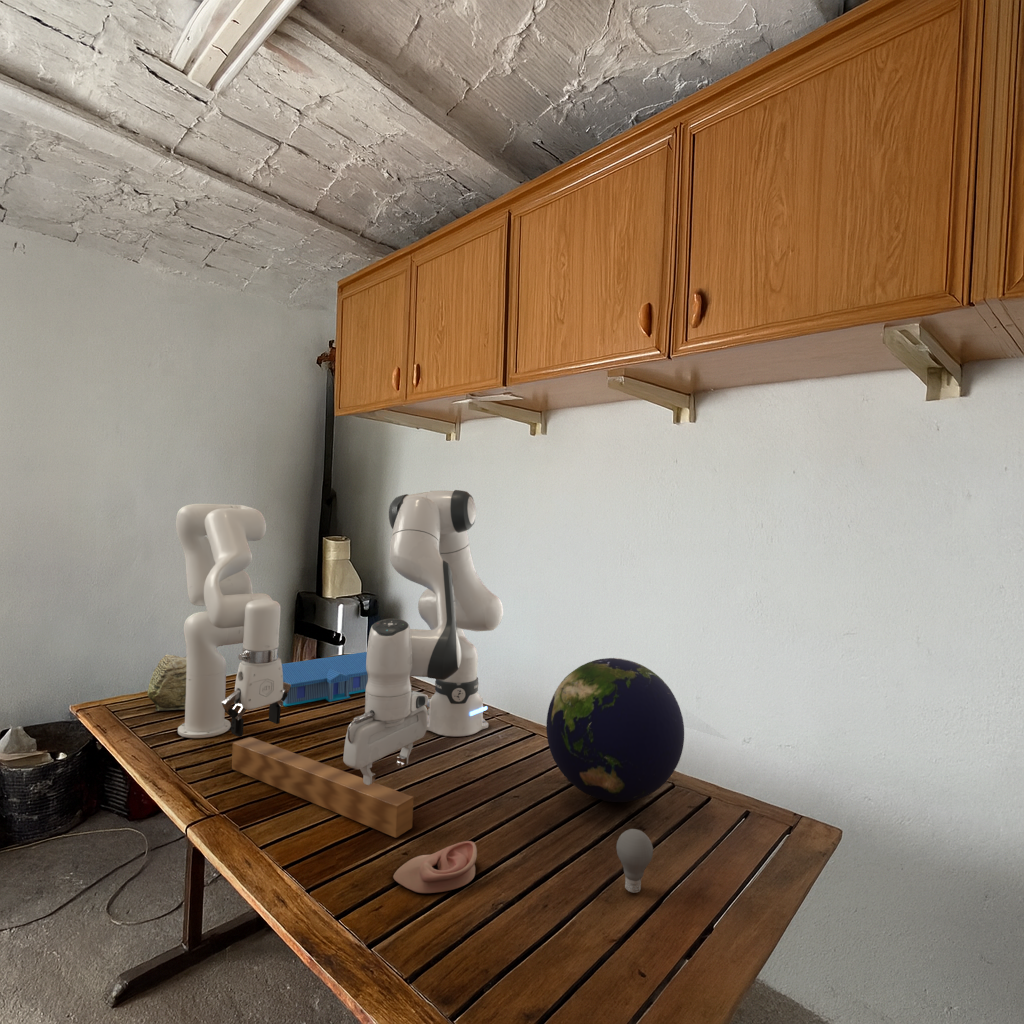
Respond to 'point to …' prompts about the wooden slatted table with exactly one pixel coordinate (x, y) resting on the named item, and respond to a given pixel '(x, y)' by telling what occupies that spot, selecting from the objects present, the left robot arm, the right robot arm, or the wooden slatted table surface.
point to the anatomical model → (439, 869)
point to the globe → (615, 730)
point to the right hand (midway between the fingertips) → (386, 773)
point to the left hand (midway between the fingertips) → (256, 728)
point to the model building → (325, 678)
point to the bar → (325, 786)
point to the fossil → (169, 683)
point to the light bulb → (634, 857)
